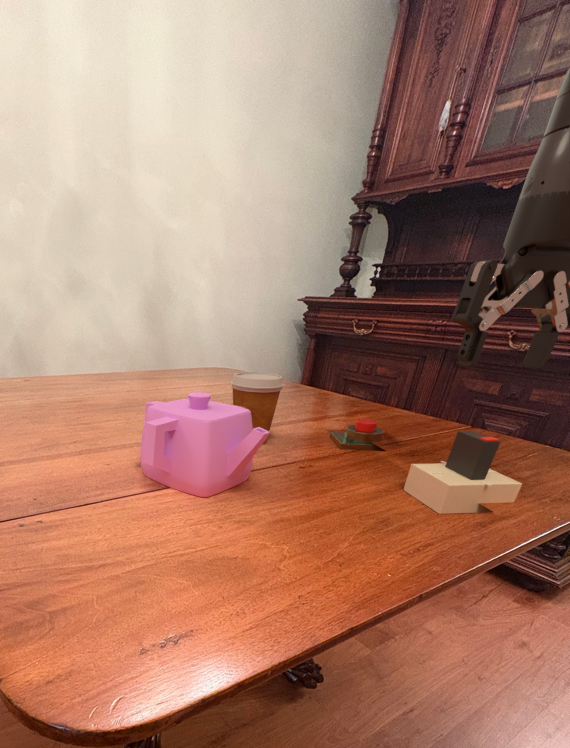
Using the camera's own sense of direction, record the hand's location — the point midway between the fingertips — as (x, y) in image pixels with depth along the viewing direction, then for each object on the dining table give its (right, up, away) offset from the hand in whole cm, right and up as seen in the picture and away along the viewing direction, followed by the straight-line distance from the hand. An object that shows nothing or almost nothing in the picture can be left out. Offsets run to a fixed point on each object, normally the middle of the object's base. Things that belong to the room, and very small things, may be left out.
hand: (499, 366), depth 51 cm
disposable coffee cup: (-24, -2, +32) cm, 39 cm away
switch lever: (0, -12, +6) cm, 13 cm away
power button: (-2, 0, +29) cm, 30 cm away
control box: (0, -15, +8) cm, 17 cm away
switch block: (-2, -2, +31) cm, 31 cm away
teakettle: (-35, -11, +15) cm, 39 cm away
